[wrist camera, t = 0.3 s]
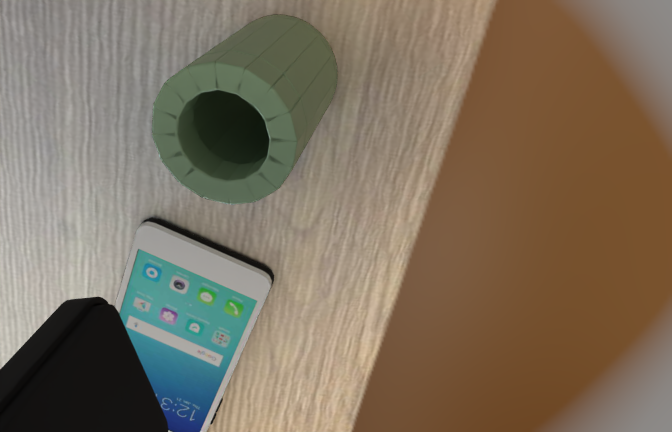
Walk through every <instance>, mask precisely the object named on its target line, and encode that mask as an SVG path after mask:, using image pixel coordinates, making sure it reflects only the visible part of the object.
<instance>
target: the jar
mask: <svg viewBox="0 0 672 432" xmlns="http://www.w3.org/2000/svg"><path fill="white" fill-rule="evenodd" d="M336 85H337V64H336V60H335V56H334V54H333V51H332V49H331V47H330V45H329V44H328V42H327V41H326V39H325V38H324V37H323V35H322V34H321V33H320V32H319V31H318V30H317V29H315V28H314V27H313V26H312V25H310V24H308V23H307V22H305V21H303V20H301V19H298V18H295V17H292V16H287V15H270V16H266V17H262V18H260V19H257V20H255V21H252V22H251V23H250V24H248V25H247V26H245V27H244V28H242V29H241V30H239V31H238V32H236V33H235V34H233V35H232V36H230V37H229V38H227V39H226V40H224V41H223V42H221V43H220V44H219V45H217V46H216V47H214V48H213V49H211V50H210V51H208V52H207V53H205V54H204V55H202V56H201V57H199V58H198V59H196V60H195V61H193V62H192V63H191V64H189V65H188V66H186V67H185V68H183V69H182V70H181V71H179V72H178V73H176V74H175V75H174V76H172V77H171V78H170V79H168V80H167V82H166V83H164V85H163V87H162V89H161V91H160V93H159V94H158V96H157V98H156V100H155V102H154V104H153V106H154V107H153V120H152V133H153V134H152V136H153V139H154V142H155V145H156V148H157V151H158V153H159V156H160V159H161V160H162V162H163V163H164V165H165V166H166V167H167V168H168V170H169V171H170V172H171V173H172V175H173V176H174V177H175V178H176V180H177V181H178V182H180V183H181V184H182V185H183V186H185V187H186V188H188V189H189V190H191V191H193V192H194V193H196V194H197V195H199V196H200V197H202V198H203V197H204V198H205V199H209V200H213V201H217V202H221V203H225V204H231V205H234V204H243V203H251V202H256V201H258V200H260V199H262V198H264V197H266V196H267V195H269V194H271V193H272V192H274V191H276V190H277V189H279V188H280V187H281V185H282V184H283V182H284V181H285V179H286V178H287V177H288V175H289V174H290V172H291V171H292V169H293V168H294V166H295V164H296V162H297V161H298V159H299V157H300V155H301V153H302V152H303V150H304V148H305V146H306V145H307V143H308V141H309V139H310V138H311V136H312V134H313V132H314V131H315V129H316V127H317V125H318V124H319V122H320V120H321V118H322V117H323V115H324V113H325V111H326V110H327V108H328V106H329V104H330V102H331V100H332V98H333V95H334V93H335V89H336Z"/></svg>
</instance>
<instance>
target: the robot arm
mask: <svg viewBox="0 0 672 432" xmlns="http://www.w3.org/2000/svg"><path fill="white" fill-rule="evenodd" d="M0 432H168V422H167V419H166V417H165V415H164V412H163V410H162V408H161V406H160V404H159V401H158V399H157V397H156V395H155V392H154V390H153V388H152V386H151V384H150V381H149V379H148V377H147V375H146V372H145V370H144V368H143V366H142V364H141V361H140V359H139V357H138V355H137V353H136V350H135V348H134V346H133V344H132V341H131V339H130V337H129V335H128V333H127V330H126V328H125V326H124V324H123V321H122V319H121V317H120V315H119V313H118V311H117V309H116V308H115V307H114V306H113V305H110V304H108V302H107V301H106V300H105V299H103V298H101V297H92V298H82V299H71V300H67V301H65V302H64V303H63V304H61V305H60V306H59V308H58V309H57V310H56V311H55V312H54V313H53V314H52V315H51V316H50V317H49V318H48V319H47V320H46V321H45V322H44V324H43V325H42V326H41V327H40V328H39V329H38V330H37V331H36V332H35V333H34V334H33V335H32V336H31V337H30V339H29V340H28V341H27V342H26V343H25V344H24V345H23V346H22V347H21V348H20V349H19V350H18V351H17V352H16V353H15V355H14V356H13V357H12V358H11V359H10V360H9V361H8V362H7V363H6V364H5V365H4V366H3V367H2V368H1V370H0Z"/></svg>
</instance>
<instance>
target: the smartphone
mask: <svg viewBox="0 0 672 432" xmlns="http://www.w3.org/2000/svg"><path fill="white" fill-rule="evenodd" d="M273 282H274V275H273V273H272V271H271V270H270V269H268V268H267V267H266V266H264V265H261V264H259V263H257V262H255V261H252V260H250V259H248V258H245V257H243V256H241V255H239V254H236V253H234V252H232V251H230V250H227V249H225V248H223V247H221V246H218V245H216V244H214V243H212V242H209V241H207V240H205V239H202V238H200V237H198V236H196V235H193V234H191V233H189V232H187V231H184V230H182V229H180V228H178V227H175V226H173V225H171V224H169V223H166V222H164V221H162V220H160V219H156V218H149V219H146V220H144V222H143V223H142V224H141V225H140V227H139V228H138V229H137V231H136V233H135V237H134V240H133V244H132V247H131V251H130V254H129V258H128V261H127V265H126V268H125V272H124V275H123V279H122V282H121V286H120V289H119V293H118V296H117V300H116V303H115V308H116V309H117V311H118V313H119V315H120V317H121V319H122V321H123V324H124V326H125V328H126V330H127V333H128V335H129V337H130V339H131V341H132V344H133V346H134V348H135V350H136V353H137V355H138V357H139V359H140V361H141V364H142V366H143V368H144V370H145V372H146V375H147V377H148V379H149V381H150V384H151V386H152V388H153V390H154V392H155V395H156V397H157V399H158V401H159V404H160V406H161V408H162V410H163V412H164V415H165V417H166V419H167V422H168V432H207V430H208V427H209V425H210V424H212V423H213V421H214V419H215V416H216V413H215V412H217V411H218V409H219V407H220V404H221V402H222V400H223V398H222V396H223V394H224V392H225V389H226V387H227V385H228V383H229V380H230V378H231V376H232V374H233V371H234V369H235V367H236V365H237V362H238V360H239V358H240V356H241V353H242V351H243V349H244V347H245V345H246V342H247V340H248V338H249V336H250V333H251V331H252V329H253V327H254V324H255V322H256V320H257V318H258V315H259V313H260V311H261V309H262V306H263V304H264V302H265V300H266V298H267V295H268V293H269V291H270V289H271V286H272V284H273Z"/></svg>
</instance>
